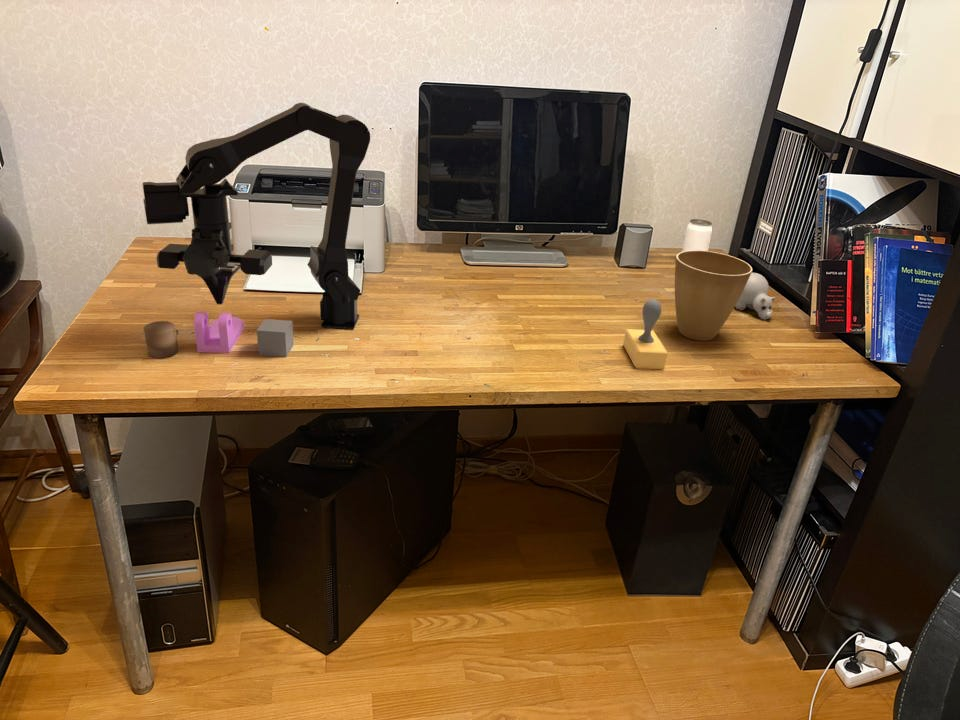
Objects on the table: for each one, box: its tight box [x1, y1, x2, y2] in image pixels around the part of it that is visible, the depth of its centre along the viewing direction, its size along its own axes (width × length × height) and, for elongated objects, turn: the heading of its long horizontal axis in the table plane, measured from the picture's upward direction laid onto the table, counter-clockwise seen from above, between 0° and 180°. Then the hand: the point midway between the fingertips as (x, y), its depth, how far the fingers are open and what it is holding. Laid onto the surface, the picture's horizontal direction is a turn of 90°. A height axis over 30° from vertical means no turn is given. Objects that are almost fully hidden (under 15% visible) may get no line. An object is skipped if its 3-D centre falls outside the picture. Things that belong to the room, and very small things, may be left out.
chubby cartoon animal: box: [734, 272, 777, 321], centre depth 160 cm, size 7×12×8 cm, turn 18°
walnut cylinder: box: [143, 320, 179, 360], centre depth 124 cm, size 5×5×5 cm
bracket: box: [193, 311, 245, 354], centre depth 131 cm, size 13×6×7 cm, turn 3°
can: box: [681, 218, 713, 252], centre depth 186 cm, size 6×6×12 cm
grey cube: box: [256, 318, 294, 358], centre depth 128 cm, size 5×5×5 cm
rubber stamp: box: [622, 299, 668, 370], centre depth 134 cm, size 10×6×12 cm, turn 3°
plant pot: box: [674, 250, 753, 342], centre depth 145 cm, size 15×15×16 cm
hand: (220, 303), depth 129 cm, fingers closed
